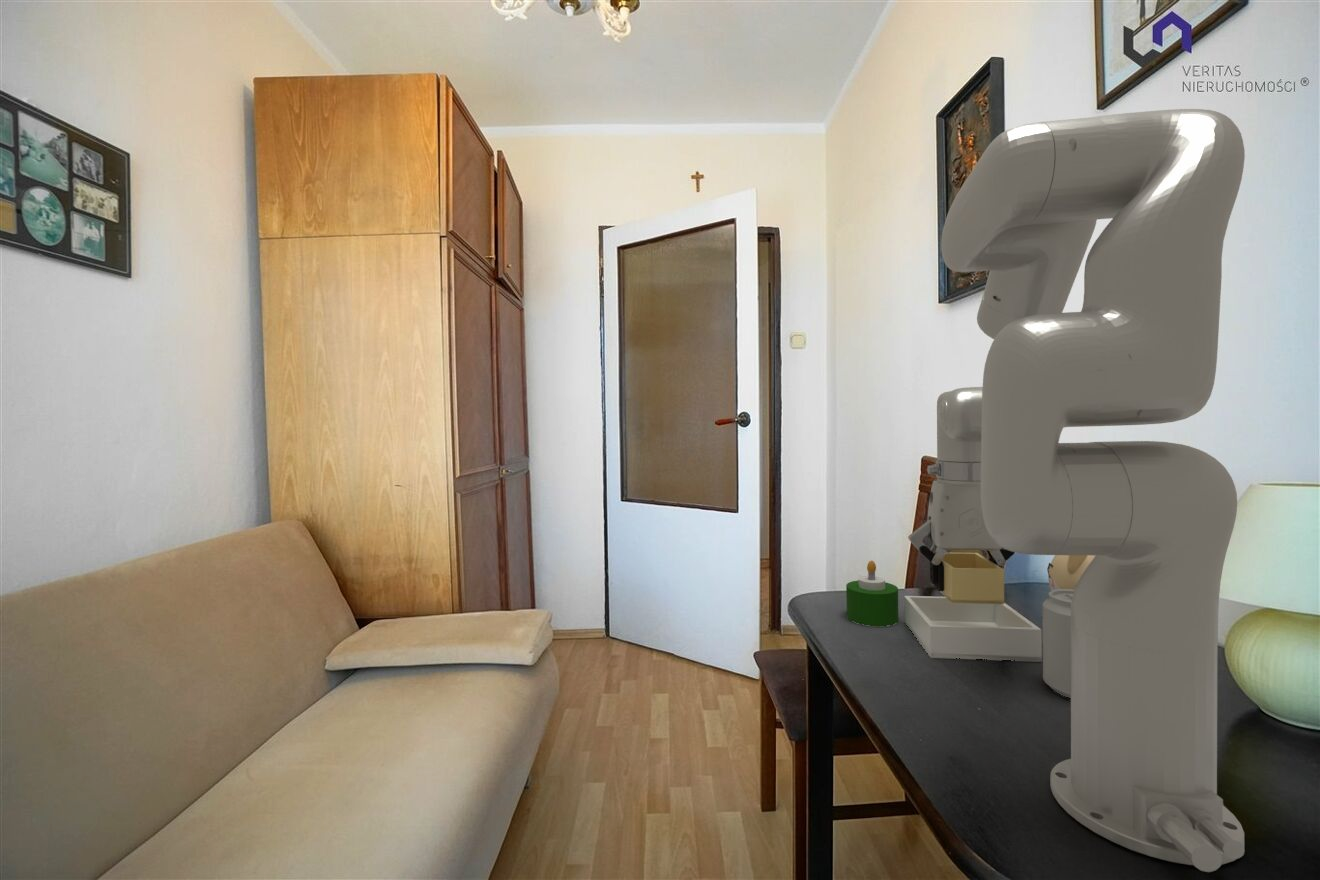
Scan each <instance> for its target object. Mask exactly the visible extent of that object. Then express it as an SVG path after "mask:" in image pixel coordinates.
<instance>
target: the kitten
mask: <svg viewBox="0 0 1320 880" xmlns="http://www.w3.org/2000/svg"><path fill="white" fill-rule="evenodd" d="M1095 556H1096V555H1053V558H1052V560H1051V561H1050V562H1048V566H1047V569H1046V571H1047V575H1048V577H1047V578H1048V585H1049V589H1050V591H1053V590H1058V589H1071V590H1075V587H1076V584H1077V582H1078V581H1079V579H1080V577H1081V575H1082V574H1083V572H1084V571H1085V569H1086V568H1087V567H1088V565H1089V564H1090V562H1091V561H1092V560H1093V558H1094V557H1095Z"/></svg>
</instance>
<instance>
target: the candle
mask: <svg viewBox="0 0 1320 880" xmlns="http://www.w3.org/2000/svg"><path fill="white" fill-rule="evenodd" d="M866 571H867V572H868V574H867V575H863V576H858V580H852V581H849V582H847V583H846V589H845V592H846V594H845V595H846V618H847V617H848V619H849V620H851V621H854V622H856V623H859V624H864V625H870V626H887V625H893V624H895V623H897V622H898V621H899V588H898V586H896V585H895V584H892V583H889V582H886V579H884V578H883V577H880V576H876V571H877V566H876V563H875V561H873V560H869V561H868V562H867V565H866ZM848 619H847V620H848ZM849 620H848V621H849ZM851 621H850V622H851ZM856 623H855V624H856ZM898 623H899V622H898ZM898 623H897V624H898ZM859 624H858V625H859Z"/></svg>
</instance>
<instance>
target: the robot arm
mask: <svg viewBox="0 0 1320 880" xmlns="http://www.w3.org/2000/svg"><path fill="white" fill-rule="evenodd" d="M1245 151H1246V150H1245V145H1244V140H1243V136H1242V133H1241V131H1240V129H1239V127H1238V126H1237V125H1236V124H1235V122H1234V121H1233V120H1232V119H1231V118H1230V117H1229V116H1227V115H1226V114H1223V113H1221V112H1219V111H1215V110H1212V109H1211V110H1210V109H1205V108H1204V109H1202V108H1176V109H1161V110H1150V111H1149V110H1148V111H1137V112H1127V113H1126V112H1125V113H1115V114H1107V115H1099V116H1092V117H1084V118H1082V117H1080V118H1072V119H1071V118H1070V119H1061V120H1050V121H1048V120H1047V121H1039V122H1031V123H1025V124H1021V125H1018V126H1014V127H1011V128H1009V129H1006V130H1005V131H1003V132H1001V133H999V135H997V136H996V137H995V138H994V139H993V140H992V141H991V142H990V143H989V144H988V146H987V148H986V149H985V150H984V152H983V153H982V155H981V156H980V158H979V159H978V161H977V162H976V163H975V165H974V166H973V168H972V170H971V171H970V173H969V174H968V176H967V178H966V179H965V180H964V182H963V184H962V186H961V187H960V189H959V191H958V192H957V193H956V195H955V197H954V199H953V202H952V203H951V205H950V208H949V210H948V212H947V215H946V218H945V222H944V224H943V228H942V233H941V240H940V241H941V242H940V246H941V247H940V250H941V256H942V260H943V262H944V264H945V266H946V268H948V269H949V270H950V271H953V272H958V273H970V272H971V273H972V272H988V271H989V272H988V276H987V280H986V283H985V287H984V290H983V293H982V296H981V297H982V298H981V301H980V304H979V308H978V311H977V314H976V315H977V316H976V323H977V325H978V328H979V329H980V330H981V331H982V332H983V333H984V335H986V336H987V337H989V338H991V339H993V341H992V342H991V345H990V348H989V349H988V353H987V355H986V359H985V363H984V368H983V375H982V377H983V378H982V386H969V387H968V386H967V387H959V388H955V389H952V390H949V391H945V392H942V393H941V394H940V395H939V396H938V398H937V401H936V460H935V463H934V464H931V465H927V469H926V471H927V474H928V475H933V476H935V478H936V479H937V480H933V481H932V484H931V489H930V495H929V500H928V509H927V521H926V522H924V523H923V524H922V525H920V526H919V527H918V528H917V529H916V530H914V531H913V532H911V533H910V534H909V535H908V537H907V538H908V541H910V543H911V544H912V545H913V546H914V547H915V548H916V549H917V550H918V551H919V552H920V553H921V554H922V555H923V556H924V557H925V558H926V559H927V560H928V561H929V582H930V584H931V583H932V584H933V585H934V586H933V585H932V584H931V585H932V586H933V587H934V588H935V590H938V592H940V591H943V590H944V566H943V565H942V559H943V557H944V555H945V553H948V551H951V550H981V551H985V553H986V555H987V556H988V560H990V561H991V562H993V563H994V564H996V565H998V566H999V567H1001V568H1002V569H1003V566H1005V564H1006V563H1007V561H1008V560H1009V559H1010V558H1011V557H1012V556H1013V555H1015V554H1021V555H1034V556H1055V555H1096V556H1095V557H1094V558H1093V560H1092V561H1091V562H1090V564H1089V565H1088V567H1087V568H1086V569H1085V571H1084V572H1083V574H1082V575H1081V577H1080V579H1079V581H1078V582H1077V584H1076V587H1075V590H1074V592H1073V596H1072V601H1071V699H1070V758H1067V759H1065V760H1062V761H1060V762H1059V763H1057V764H1055V765H1054V767H1052V768H1051V771H1050V774H1049V775H1050V780H1049V781H1050V790H1051V792H1052V796H1053V797H1054V798H1055V800H1056V801H1057V803H1058V804H1059V805H1060V807H1061V808H1063V810H1064V811H1065V812H1066V813H1067V814H1068V815H1069V816H1071V817H1072V818H1074V819H1075V820H1076V821H1077V822H1079V824H1081V825H1083V826H1084V827H1085V828H1088V829H1089V830H1090V831H1092V832H1093V833H1095V834H1097V835H1099V836H1100V837H1102V838H1105V839H1106V840H1108V841H1110V842H1112V843H1115V844H1117V845H1118V846H1121V847H1123V848H1125V849H1127V850H1130V851H1133V852H1136V853H1139V854H1142V855H1145V856H1148V857H1150V858H1155V859H1159V860H1162V861H1167V862H1170V863H1175V864H1182V865H1188V866H1194V867H1195V868H1196V869H1198V870H1199V871H1201V872H1206V873H1211V872H1214V871H1215V872H1216V871H1217V870H1218V869H1219V868H1220V867H1221V866H1222V865H1225V864H1228V863H1231V862H1234V861H1236V860H1238V859H1240V858H1242V857H1243V856H1244V855H1245V852H1246V850H1245V831H1244V829H1243V826H1242V824H1241V822H1240V821H1239V820H1238V819H1237V817H1236V816H1235V815H1234V813H1232V812H1231V811H1230V810H1229V809H1228V808H1227V807H1226V806H1225V805H1224V799H1223V798H1222V797H1221V796H1219V795H1218V646H1219V607H1220V605H1219V603H1220V593H1221V592H1220V591H1221V581H1222V575H1223V569H1224V564H1225V559H1226V556H1227V552H1228V548H1229V544H1230V543H1231V542H1230V541H1231V539H1232V535H1233V531H1234V527H1235V523H1236V518H1237V511H1238V494H1237V488H1236V484H1235V483H1234V480H1233V477H1232V476H1231V474H1230V472H1229V471H1228V470H1227V468H1226V467H1225V466H1224V465H1223V464H1222V463H1221V462H1220V461H1219V460H1218V459H1216V458H1215V457H1214V456H1212V454H1209V453H1207V452H1205V451H1203V450H1201V449H1198V448H1196V447H1193V446H1190V445H1186V444H1182V443H1181V444H1180V443H1175V442H1167V441H1155V440H1152V441H1151V440H1123V441H1115V440H1114V441H1090V442H1060V438H1061V434H1062V432H1063V429H1064V428H1077V427H1079V428H1080V427H1087V428H1088V427H1113V426H1115V427H1117V426H1142V425H1146V426H1147V425H1157V424H1158V425H1160V424H1166V423H1168V424H1169V423H1174V422H1178V421H1182V420H1186V419H1188V418H1190V417H1192V416H1195V415H1196V414H1198V413H1199V412H1200V411H1202V409H1204V408H1205V406H1206V405H1207V404H1208V401H1209V400H1210V398H1211V396H1212V393H1213V389H1214V385H1215V379H1216V374H1217V373H1216V372H1217V362H1218V352H1219V351H1218V347H1219V345H1218V344H1219V331H1220V316H1221V315H1220V311H1221V294H1222V291H1221V290H1222V277H1223V276H1222V266H1223V265H1222V263H1223V262H1222V258H1223V248H1224V241H1225V238H1226V237H1225V236H1226V234H1227V229H1228V225H1229V221H1230V219H1231V215H1232V212H1233V209H1234V206H1235V203H1236V200H1237V198H1238V194H1239V190H1240V188H1241V182H1242V180H1243V179H1242V178H1243V175H1244V173H1243V172H1244V168H1245V167H1244V165H1245V157H1246V155H1245ZM1106 219H1107V220H1109V219H1110V221H1109V223H1108V224H1107V225H1106V226H1105V227H1104V228H1103V230H1102V231H1101V233H1100V234H1099V235H1098V237H1097V239H1096V240H1095V241H1094V243H1093V244H1092V246H1091V248H1090V250H1089V252H1088V254H1087V257H1086V260H1085V265H1084V273H1083V275H1084V276H1083V278H1084V281H1083V282H1084V283H1083V284H1084V285H1083V287H1084V289H1083V302H1082V303H1083V304H1082V308H1081V310H1080V311H1070V312H1063V311H1064V310H1065V306H1066V304H1067V302H1068V299H1069V295H1070V293H1071V290H1072V288H1073V286H1074V283H1075V280H1076V277H1077V276H1078V273H1079V270H1080V267H1081V265H1082V262H1083V261H1084V257H1085V256H1086V255H1085V254H1086V252H1087V250H1088V247H1089V244H1090V242H1091V240H1092V237H1093V234H1094V231H1095V228H1096V225H1097V220H1106ZM926 536H927V540H928V541H929V542H931V543H932V545H931V547H930V548H929V547H927V545H926V544H925V543H924V542H923V539H924V538H925V537H926Z"/></svg>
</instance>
